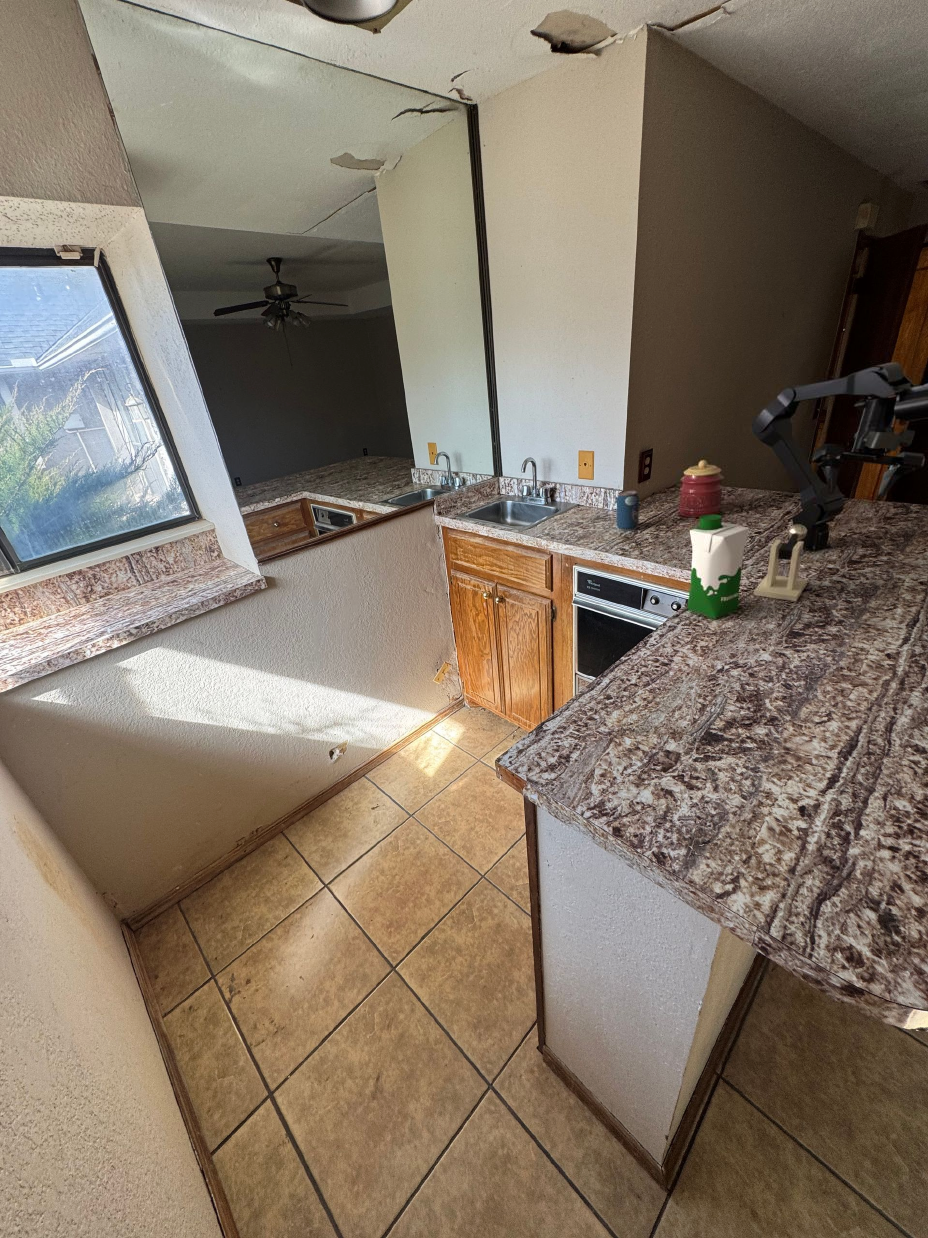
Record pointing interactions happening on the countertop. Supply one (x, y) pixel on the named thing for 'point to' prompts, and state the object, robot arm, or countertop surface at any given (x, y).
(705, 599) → the milk carton
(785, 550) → the switch lever
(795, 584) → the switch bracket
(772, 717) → the countertop surface
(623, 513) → the soda can
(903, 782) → the countertop surface
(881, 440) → the robot arm
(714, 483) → the kitchen canister
